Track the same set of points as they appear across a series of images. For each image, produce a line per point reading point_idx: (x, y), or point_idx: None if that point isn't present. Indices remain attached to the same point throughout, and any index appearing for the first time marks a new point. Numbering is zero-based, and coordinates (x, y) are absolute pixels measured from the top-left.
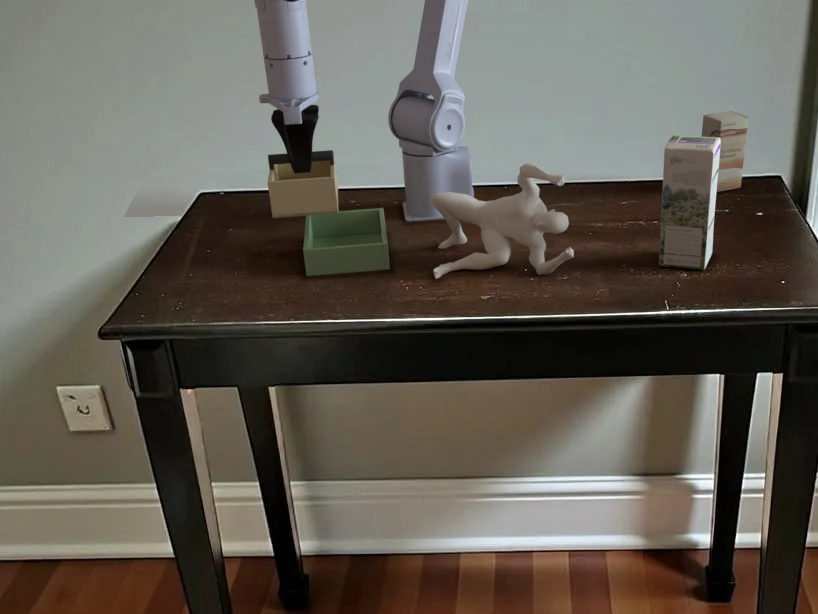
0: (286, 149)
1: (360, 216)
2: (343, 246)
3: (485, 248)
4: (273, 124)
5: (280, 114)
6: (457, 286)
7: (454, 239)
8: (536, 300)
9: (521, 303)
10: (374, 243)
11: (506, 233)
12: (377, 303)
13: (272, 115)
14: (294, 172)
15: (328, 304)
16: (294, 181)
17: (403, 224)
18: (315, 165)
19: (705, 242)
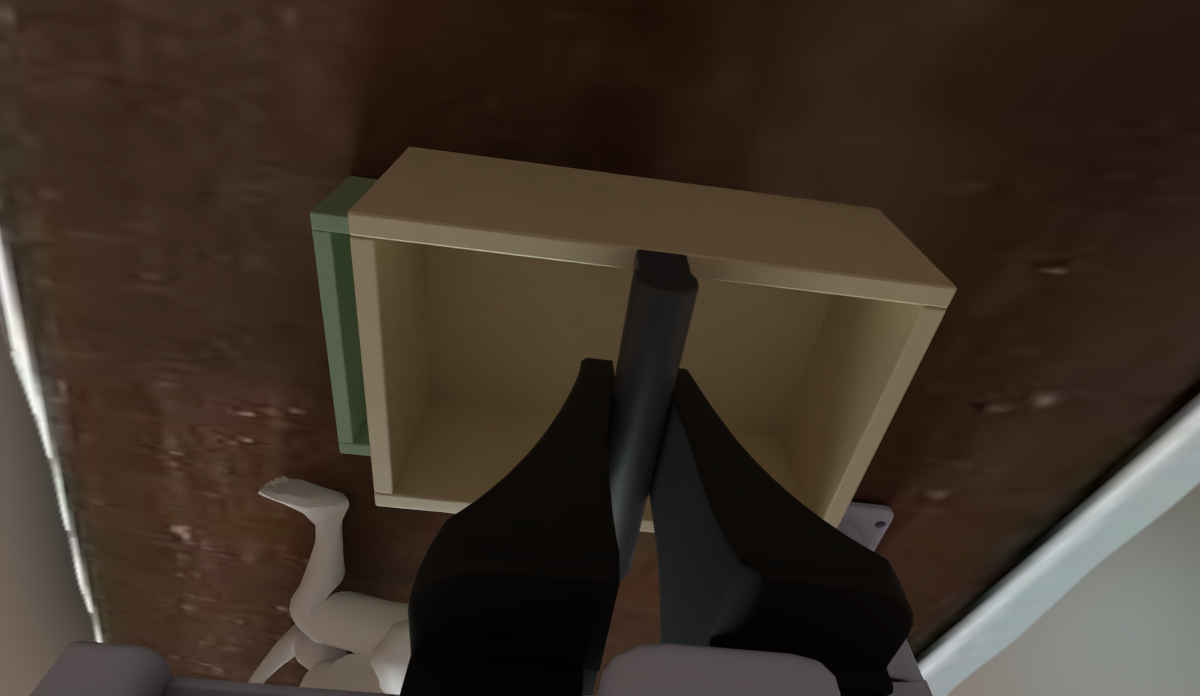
0: (550, 427)
1: None
2: (330, 343)
3: (357, 602)
4: (454, 528)
5: (587, 633)
6: (251, 502)
7: None
8: (165, 593)
9: (148, 572)
10: (347, 424)
11: (332, 664)
12: (135, 336)
13: (574, 584)
14: (583, 361)
15: (119, 213)
16: (361, 349)
17: None
18: (823, 439)
19: None
